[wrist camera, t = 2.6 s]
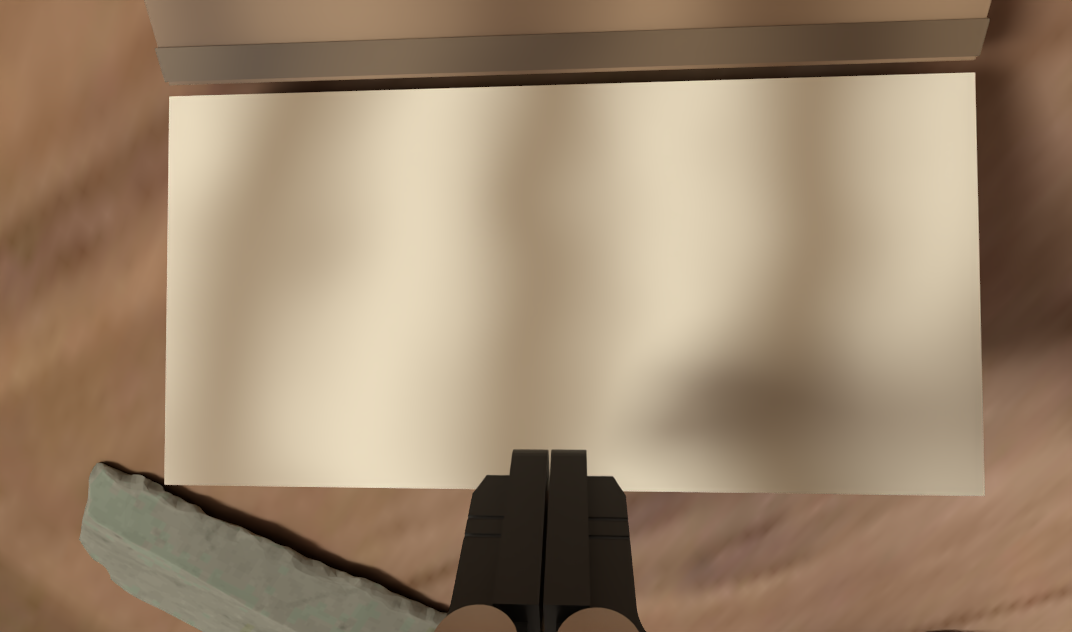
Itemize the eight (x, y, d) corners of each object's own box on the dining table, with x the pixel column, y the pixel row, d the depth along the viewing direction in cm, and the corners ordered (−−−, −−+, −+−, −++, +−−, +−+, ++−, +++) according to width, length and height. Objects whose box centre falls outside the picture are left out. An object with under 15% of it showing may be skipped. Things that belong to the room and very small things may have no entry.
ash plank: (928, 103, 17) (975, 72, 15) (935, 476, 17) (984, 495, 15) (214, 122, 18) (169, 96, 16) (210, 467, 18) (164, 484, 16)
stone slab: (462, 714, 36) (561, 651, 30) (450, 769, 33) (555, 713, 28) (79, 540, 31) (116, 430, 26) (34, 592, 29) (65, 482, 23)
